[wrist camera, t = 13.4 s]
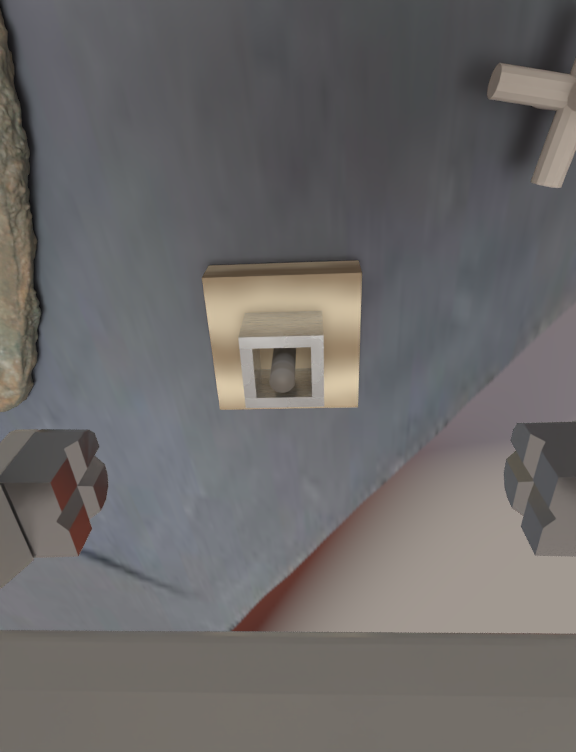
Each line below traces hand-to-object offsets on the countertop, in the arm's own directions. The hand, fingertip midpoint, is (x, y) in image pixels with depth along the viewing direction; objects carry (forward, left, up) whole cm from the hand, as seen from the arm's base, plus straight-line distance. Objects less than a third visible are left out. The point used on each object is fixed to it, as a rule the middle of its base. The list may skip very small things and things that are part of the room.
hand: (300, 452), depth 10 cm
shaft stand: (+12, -2, -31) cm, 33 cm away
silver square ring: (+12, -2, -28) cm, 31 cm away
